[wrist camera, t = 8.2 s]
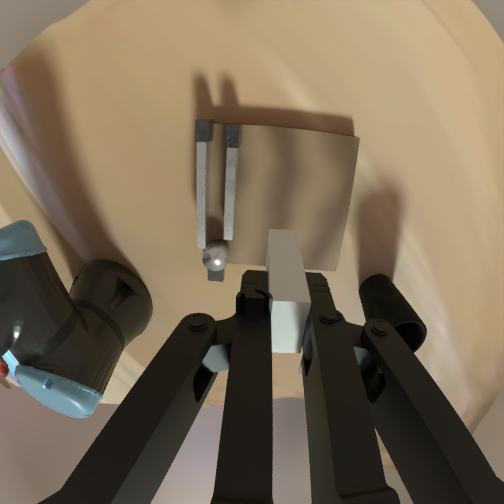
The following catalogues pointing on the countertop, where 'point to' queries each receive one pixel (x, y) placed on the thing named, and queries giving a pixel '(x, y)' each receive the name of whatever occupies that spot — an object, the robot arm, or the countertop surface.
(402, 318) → the cup
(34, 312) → the robot arm
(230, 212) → the tong arm
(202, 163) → the tongs fixed
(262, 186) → the board
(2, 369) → the beverage can
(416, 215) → the countertop surface
